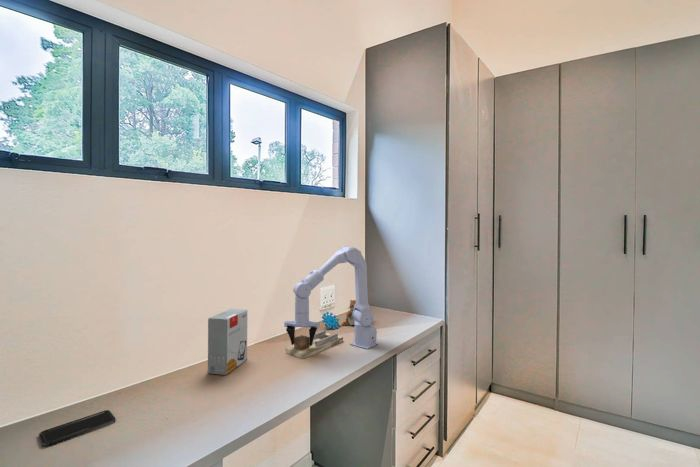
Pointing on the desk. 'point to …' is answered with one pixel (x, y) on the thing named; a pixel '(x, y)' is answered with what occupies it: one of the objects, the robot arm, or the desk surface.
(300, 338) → the walnut cube
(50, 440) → the phone
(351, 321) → the stuffed squirrel
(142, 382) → the desk surface
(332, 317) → the gear
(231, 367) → the hard drive box
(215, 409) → the desk surface
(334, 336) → the channel board
